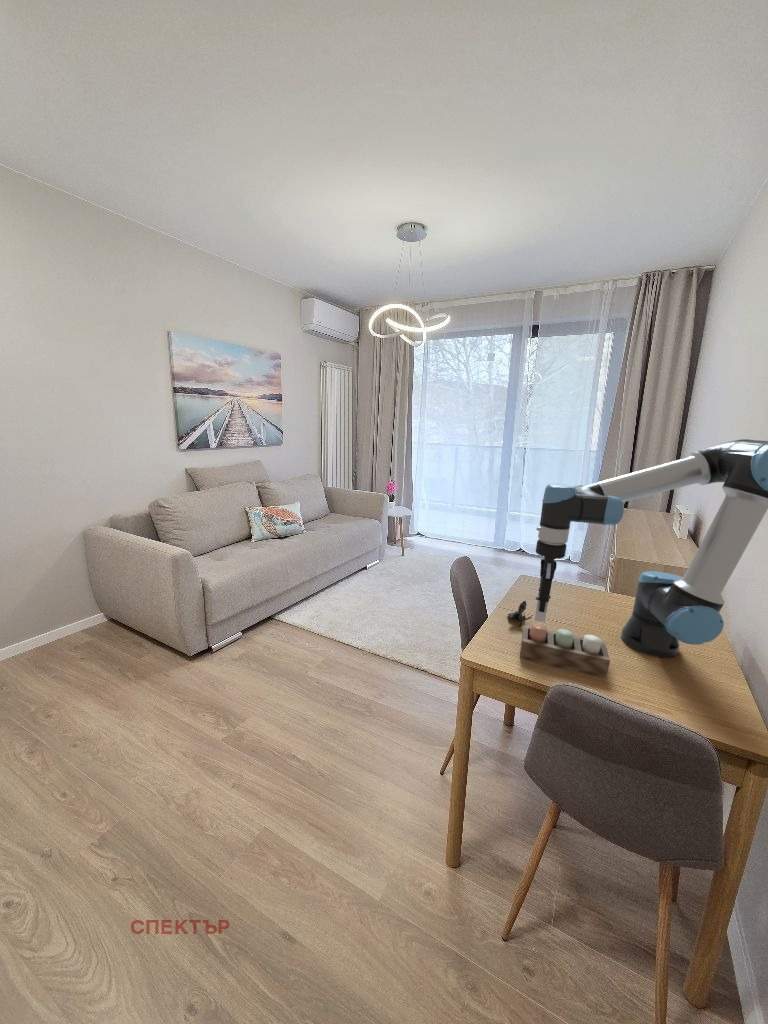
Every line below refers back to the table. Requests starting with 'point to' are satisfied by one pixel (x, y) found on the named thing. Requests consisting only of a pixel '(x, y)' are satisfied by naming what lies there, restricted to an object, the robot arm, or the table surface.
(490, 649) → the table surface
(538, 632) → the pink rounded block
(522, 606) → the eagle figurine
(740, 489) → the robot arm
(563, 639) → the sage button
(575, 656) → the wooden egg holder
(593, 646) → the white rounded block
